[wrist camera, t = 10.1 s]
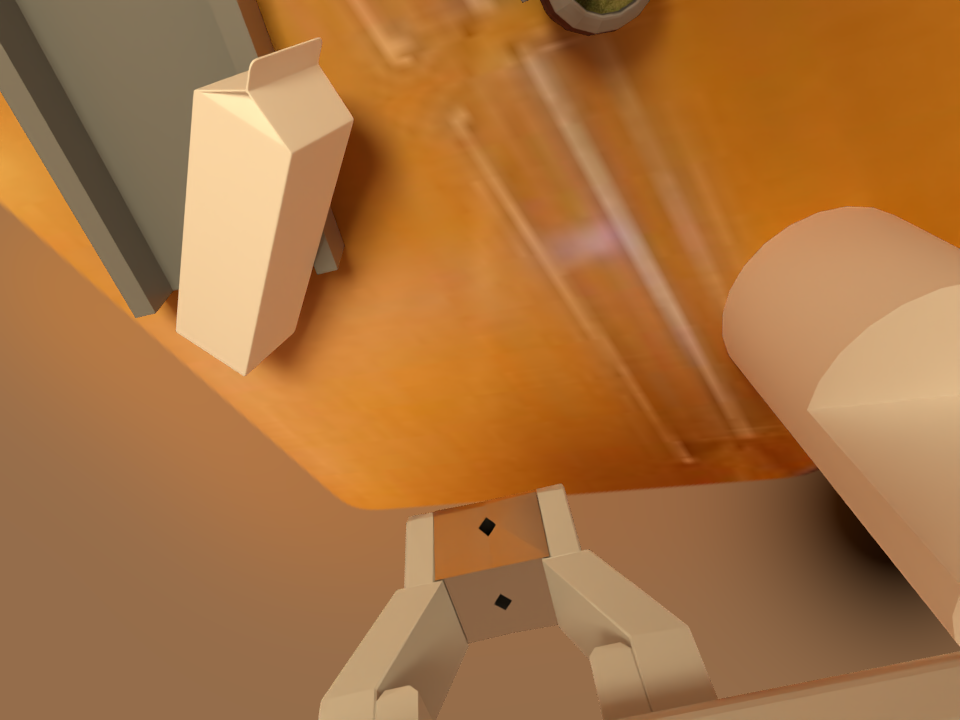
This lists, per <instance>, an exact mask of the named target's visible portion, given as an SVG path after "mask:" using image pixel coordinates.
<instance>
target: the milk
mask: <svg viewBox="0 0 960 720" xmlns="http://www.w3.org/2000/svg"><path fill="white" fill-rule="evenodd" d="M321 47H322V39H321V38H320V37H318V38H315V39H312V40H309V41H306V42H303V43H300V44H297V45H294V46H291V47H288V48H285V49H282V50H279V51H276V52H273V53H271V54H268V55H265V56H262V57H259V58H256V59H254V60H253V61H252V62H251V64H250V66H249V70H248V71H246V72H243V73H240V74H237V75H234V76H232V77H229V78H226V79H223V80H220V81H218V82H215V83H212V84H209V85H206V86H204V87H201V88H198V89H195V90H194V94H193V107H192V120H191V134H190V147H189V161H188V174H187V187H186V201H185V214H184V227H183V241H182V254H181V268H180V281H179V294H178V308H177V321H176V332H177V333H178V334H180V335H182V336H183V337H185V338H186V339H188V340H189V341H191V342H192V343H194V344H195V345H197V346H198V347H200V348H201V349H203V350H204V351H206V352H208V353H209V354H211V355H212V356H214V357H215V358H217V359H218V360H220V361H221V362H223V363H224V364H226V365H227V366H229V367H231V368H232V369H234V370H235V371H237V372H238V373H240V374H241V375H243V376H246V375H247V374H248V373H250V372H251V371H252V370H253V369H254V368H255V367H256V366H257V365H258V364H260V363H261V362H262V361H263V360H264V359H265V358H266V357H267V356H268V355H270V354H271V353H272V352H273V351H274V350H275V349H276V348H277V347H278V346H280V345H281V344H282V343H283V342H284V341H285V340H286V339H287V338H288V337H290V336H291V335H292V334H293V333H294V332H295V329H296V326H297V322H298V318H299V315H300V311H301V308H302V304H303V300H304V297H305V293H306V290H307V286H308V283H309V279H310V275H311V272H312V268H313V265H314V261H315V257H316V254H317V250H318V247H319V243H320V239H321V236H322V232H323V229H324V225H325V222H326V218H327V214H328V211H329V207H330V204H331V200H332V196H333V193H334V189H335V186H336V182H337V179H338V175H339V171H340V168H341V164H342V161H343V157H344V153H345V150H346V146H347V143H348V139H349V136H350V132H351V128H352V125H353V121H354V119H353V117H352V115H351V113H350V112H349V110H348V109H347V107H346V106H345V104H344V103H343V101H342V100H341V98H340V96H339V95H338V93H337V92H336V90H335V89H334V87H333V86H332V84H331V83H330V81H329V80H328V78H327V77H326V75H325V74H324V72H323V71H322V69H321V67H320V66H319V64H318V61H319V56H320V51H321Z"/></svg>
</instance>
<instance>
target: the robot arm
mask: <svg viewBox="0 0 960 720" xmlns="http://www.w3.org/2000/svg"><path fill="white" fill-rule="evenodd" d="M536 490H537V493H536ZM537 496H538V497H537ZM539 505H540V506H539ZM555 625H559V628H560V629H561V630H562V631H563V632H564V633H565V634H566V635H567V636H568V637H569V638H570V640H571V641H572V642H573V643H574V644H575V645H576V646H577V647H578V648H579V649H580V650H581V652H582V653H583V654H584V655H585V656H586V657H587V658H588V659H589V660H590V662H591V667H592V672H593V676H594V681H595V686H596V690H597V695H598V700H599V705H600V709H601V714H602V719H603V720H960V651H959V652H954V653H949V654H944V655H939V656H934V657H929V658H923V659H918V660H913V661H908V662H903V663H898V664H893V665H889V666H884V667H878V668H873V669H868V670H863V671H858V672H853V673H848V674H843V675H838V676H833V677H828V678H823V679H818V680H813V681H807V682H802V683H798V684H792V685H787V686H782V687H777V688H772V689H767V690H762V691H757V692H752V693H747V694H742V695H737V696H732V697H727V698H722V699H718V698H717V695H716V693H715V690H714V688H713V685H712V683H711V680H710V678H709V676H708V673H707V671H706V668H705V666H704V663H703V661H702V659H701V656H700V653H699V651H698V649H697V646H696V644H695V641H694V639H693V636H692V634H691V631H690V629H689V627H688V626H687V625H686V624H685V623H683V622H682V621H681V620H679V619H678V618H677V617H676V616H674V615H673V614H672V613H671V612H669V611H668V610H667V609H665V608H664V607H663V606H662V605H660V604H659V603H658V602H656V601H655V600H654V599H653V598H651V597H650V596H649V595H647V594H646V593H645V592H644V591H642V590H641V589H640V588H639V587H637V586H636V585H635V584H633V583H632V582H631V581H630V580H628V579H627V578H626V577H625V576H623V575H622V574H621V573H619V572H618V571H617V570H615V569H614V568H613V567H612V566H610V565H609V564H608V563H607V562H605V561H604V560H603V559H601V558H600V557H599V556H598V555H596V554H595V553H593V551H591V550H590V549H588V550H581V546H580V543H579V540H578V536H577V532H576V528H575V525H574V521H573V517H572V514H571V510H570V507H569V503H568V499H567V496H566V492H565V488H564V486H563V485H562V484H556V485H552V486H548V487H543V488H539V489H535V490H531V491H526V492H522V493H518V494H513V495H509V496H504V497H500V498H496V499H491V500H487V501H484V502H479V503H474V504H469V505H464V506H458V507H453V508H448V509H443V510H438V511H435V512H430V513H425V514H420V515H415V516H410V517H409V518H408V521H407V523H406V554H405V583H404V589H400V590H397V591H396V592H395V593H394V595H393V597H392V598H391V600H390V601H389V602H388V604H387V605H386V607H385V608H384V610H383V611H382V612H381V614H380V616H379V617H378V618H377V620H376V621H375V623H374V624H373V626H372V627H371V629H370V630H369V632H368V633H367V634H366V636H365V637H364V639H363V640H362V642H361V643H360V645H359V646H358V647H357V649H356V651H355V652H354V653H353V655H352V656H351V658H350V659H349V661H348V662H347V664H346V665H345V667H344V668H343V670H342V671H341V672H340V674H339V675H338V677H337V678H336V680H335V681H334V683H333V684H332V686H331V687H330V688H329V690H328V691H327V693H326V694H325V696H324V697H323V699H322V700H321V705H320V711H319V719H318V720H436V718H437V716H438V714H439V712H440V709H441V707H442V705H443V702H444V701H445V698H446V696H447V694H448V691H449V689H450V687H451V685H452V683H453V680H454V678H455V676H456V673H457V671H458V669H459V667H460V664H461V662H462V660H463V658H464V655H465V653H466V651H467V649H468V643H472V642H476V641H481V640H485V639H489V638H493V637H498V636H502V635H506V634H510V633H515V632H521V631H526V630H532V629H538V628H543V627H549V626H555Z"/></svg>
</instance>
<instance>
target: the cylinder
mask: <svg viewBox="0 0 960 720" xmlns="http://www.w3.org/2000/svg"><path fill="white" fill-rule="evenodd" d="M722 336H723V339H724V343H725V346H726V349H727V352H728V355H729V356H730V358H731V359H732V360H733V361H734V363H735V364H736V365H737V367H738V368H739V369H740V370H741V372H742V373H743V374H744V375H745V377H746V378H747V379H748V381H749V382H750V383H751V384H752V386H753V387H754V388H755V389H756V391H757V392H758V393H759V394H760V396H761V397H762V398H763V399H764V401H765V402H766V403H767V404H768V406H769V407H770V408H771V409H772V411H773V412H774V413H775V414H776V416H777V417H778V418H779V420H780V421H781V422H782V423H783V425H784V426H785V427H786V428H787V430H788V431H789V432H790V433H791V435H792V436H793V437H794V438H795V440H796V441H797V442H798V443H799V445H800V446H801V447H802V448H803V450H804V451H805V452H806V454H807V455H808V456H809V457H810V459H811V460H812V461H813V462H814V464H815V465H816V466H817V467H818V469H819V470H820V471H821V472H822V474H823V475H824V476H825V477H826V479H827V480H828V481H829V482H830V484H831V485H832V486H833V487H834V489H835V490H836V491H837V492H838V494H839V495H840V496H841V498H842V499H843V500H844V501H845V503H846V504H847V505H848V506H849V507H850V509H851V510H852V511H853V513H854V514H855V515H856V516H857V518H858V519H859V520H860V521H861V523H862V524H863V525H864V526H865V528H866V529H867V530H868V532H869V533H870V534H871V535H872V536H873V538H874V539H875V540H876V542H877V543H878V544H879V545H880V547H881V548H882V549H883V550H884V552H885V553H886V554H887V555H888V557H889V558H890V559H891V560H892V562H893V563H894V564H895V565H896V567H897V568H898V569H899V571H900V572H901V573H902V574H903V576H904V577H905V578H906V579H907V581H908V582H909V583H910V584H911V586H912V587H913V588H914V589H915V591H916V592H917V593H918V594H919V596H920V597H921V598H922V599H923V601H924V602H925V603H926V604H927V606H928V607H929V608H930V609H931V611H932V612H933V613H934V615H935V616H936V617H937V618H938V620H939V621H940V622H941V623H942V624H943V626H944V627H945V628H946V630H947V631H948V632H949V633H950V635H951V636H952V637H953V638H954V640H955V641H956V642H957V644H958V645H959V646H960V249H959V248H957V247H955V246H953V245H951V244H949V243H947V242H946V241H944V240H942V239H940V238H938V237H936V236H934V235H932V234H930V233H928V232H926V231H924V230H922V229H920V228H918V227H917V226H915V225H913V224H911V223H909V222H907V221H905V220H903V219H901V218H899V217H897V216H895V215H892V214H890V213H887V212H884V211H881V210H879V209H876V208H873V207H850V206H846V207H841V208H836V209H832V210H827V211H823V212H818V213H816V214H813V215H811V216H809V217H807V218H805V219H803V220H800V221H798V222H796V223H794V224H792V225H790V226H788V227H787V228H785V229H784V230H783V231H781V232H780V233H779V234H777V235H776V236H774V237H773V238H772V239H770V240H769V241H768V242H766V243H765V244H764V245H763V246H762V247H761V248H760V249H759V250H758V251H757V252H756V253H755V255H754V256H753V257H752V258H751V259H750V260H749V261H748V262H747V263H746V264H745V265H744V267H743V269H742V270H741V272H740V274H739V275H738V277H737V279H736V280H735V282H734V284H733V286H732V287H731V289H730V291H729V295H728V298H727V301H726V305H725V308H724V311H723V327H722Z"/></svg>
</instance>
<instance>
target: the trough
mask: <svg viewBox="0 0 960 720" xmlns="http://www.w3.org/2000/svg"><path fill="white" fill-rule="evenodd" d="M273 52H275V51H274V49H273V46H272V43H271V40H270V38H269V35H268V32H267V29H266V26H265V24H264V21H263V18H262V15H261V13H260V10H259V7H258V4H257V1H256V0H0V91H1V93H2V95H3V96H4V98H5V100H6V101H7V103H8V105H9V106H10V108H11V110H12V111H13V113H14V115H15V117H16V118H17V120H18V122H19V123H20V125H21V127H22V128H23V130H24V132H25V133H26V135H27V137H28V138H29V140H30V142H31V143H32V145H33V147H34V148H35V150H36V152H37V153H38V155H39V157H40V158H41V160H42V162H43V163H44V165H45V167H46V168H47V170H48V172H49V174H50V175H51V177H52V179H53V180H54V182H55V184H56V185H57V187H58V189H59V190H60V192H61V194H62V195H63V197H64V199H65V200H66V202H67V204H68V205H69V207H70V209H71V210H72V212H73V214H74V215H75V217H76V219H77V220H78V222H79V224H80V225H81V227H82V229H83V231H84V232H85V234H86V236H87V237H88V239H89V241H90V242H91V244H92V246H93V247H94V249H95V251H96V252H97V254H98V256H99V257H100V259H101V261H102V262H103V264H104V266H105V267H106V269H107V271H108V272H109V274H110V276H111V277H112V279H113V281H114V282H115V284H116V286H117V288H118V289H119V291H120V293H121V294H122V296H123V298H124V299H125V301H126V303H127V304H128V306H129V308H130V309H131V311H132V313H133V314H134V316H135V318H138V317H142V316H146V315H150V314H154V313H156V312H157V311H158V310H159V308H160V307H161V306H162V304H163V303H164V302H165V301H166V299H167V298H168V297H169V295H170V294H171V293H172V292H173V291H174V290H178V289H179V281H180V268H181V254H182V241H183V227H184V214H185V201H186V187H187V174H188V161H189V147H190V134H191V120H192V107H193V94H194V90H195V89H198V88H201V87H204V86H206V85H209V84H212V83H215V82H218V81H220V80H223V79H226V78H229V77H232V76H234V75H237V74H240V73H243V72H246V71H248V70H249V66H250V64H251V62H252V61H253V60H254V59H256V58H259V57H262V56H265V55H268V54H271V53H273ZM344 246H345V245H344V243H343V240H342V237H341V234H340V231H339V229H338V226H337V223H336V220H335V218H334V215H333V212H332V209H331V207H329V211H328V214H327V218H326V222H325V225H324V229H323V232H322V236H321V239H320V243H319V247H318V250H317V254H316V257H315V261H314V268H315V270H316V273H317V275H318V274H322V273H326V272H330V271H334V270H338V267H339V264H340V260H341V257H342V253H343V250H344Z"/></svg>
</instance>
